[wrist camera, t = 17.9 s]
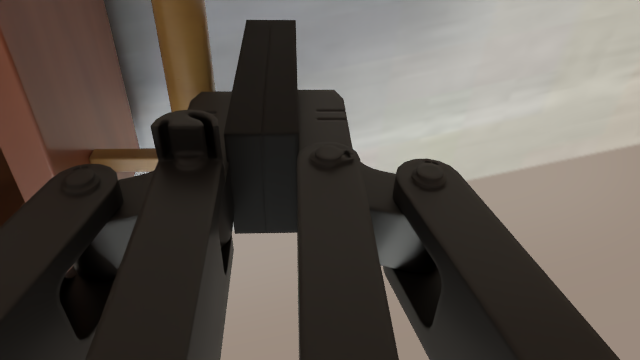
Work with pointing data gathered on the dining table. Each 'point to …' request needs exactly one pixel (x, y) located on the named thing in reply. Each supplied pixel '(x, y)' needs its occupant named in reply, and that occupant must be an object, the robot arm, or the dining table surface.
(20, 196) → the drawer
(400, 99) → the dining table surface
